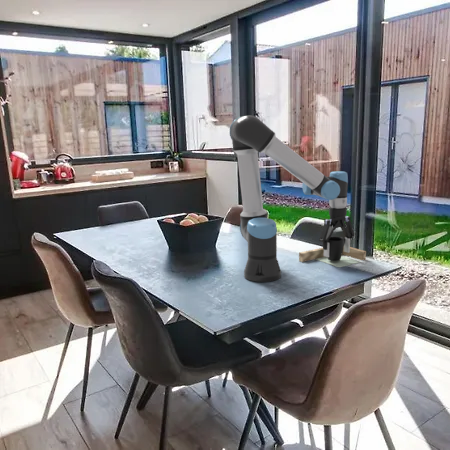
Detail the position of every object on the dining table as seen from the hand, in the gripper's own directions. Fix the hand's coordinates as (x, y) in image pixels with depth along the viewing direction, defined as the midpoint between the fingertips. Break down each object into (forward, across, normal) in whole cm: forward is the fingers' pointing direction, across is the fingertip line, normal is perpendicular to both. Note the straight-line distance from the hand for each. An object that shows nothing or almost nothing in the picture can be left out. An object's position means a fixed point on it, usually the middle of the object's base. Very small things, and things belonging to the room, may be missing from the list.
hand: (336, 254), depth 194 cm
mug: (+2, 0, 0) cm, 2 cm away
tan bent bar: (+3, -1, +2) cm, 4 cm away
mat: (+3, +1, 0) cm, 3 cm away
